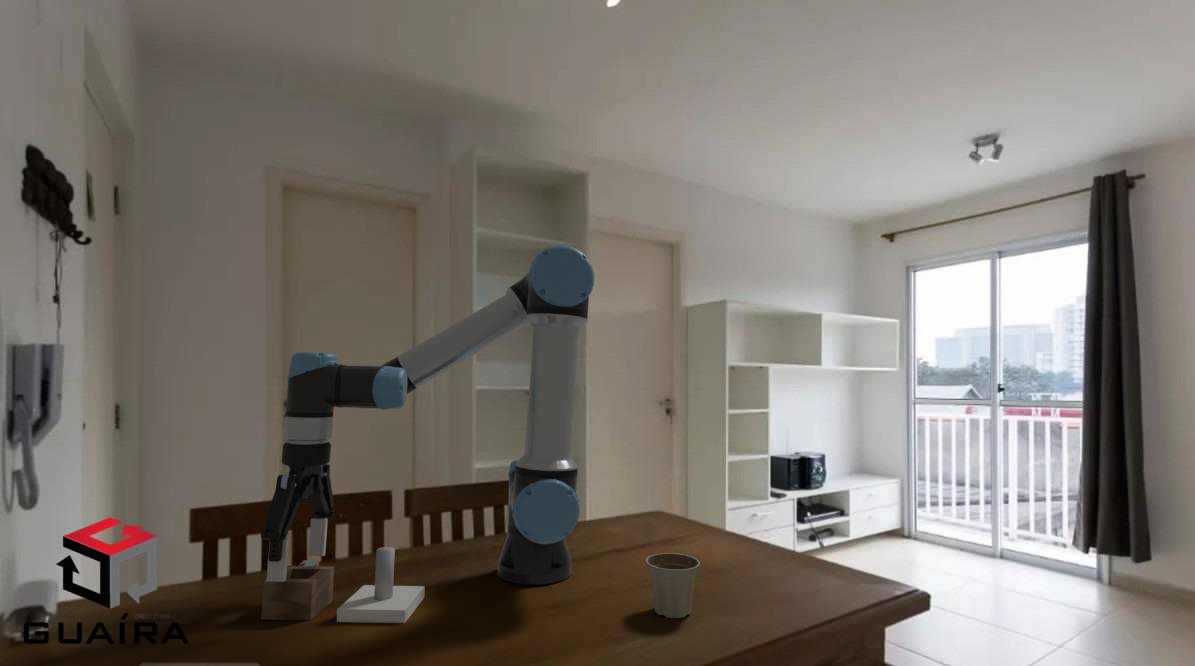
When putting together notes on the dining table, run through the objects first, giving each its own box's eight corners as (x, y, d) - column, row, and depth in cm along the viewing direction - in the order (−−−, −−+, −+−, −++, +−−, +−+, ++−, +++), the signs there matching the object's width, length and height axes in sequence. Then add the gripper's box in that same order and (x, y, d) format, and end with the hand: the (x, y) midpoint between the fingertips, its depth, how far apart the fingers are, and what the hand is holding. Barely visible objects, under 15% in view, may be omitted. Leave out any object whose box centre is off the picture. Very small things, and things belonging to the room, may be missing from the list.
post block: (424, 597, 106) (426, 541, 106) (404, 623, 95) (407, 559, 95) (363, 596, 106) (366, 539, 106) (336, 621, 95) (339, 558, 95)
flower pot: (665, 627, 95) (665, 572, 96) (634, 606, 103) (635, 556, 104) (711, 617, 99) (711, 565, 100) (678, 598, 108) (678, 550, 108)
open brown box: (332, 601, 103) (334, 566, 103) (310, 620, 95) (312, 582, 95) (286, 600, 103) (288, 565, 103) (261, 619, 95) (263, 581, 95)
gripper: (319, 433, 114) (311, 545, 112) (242, 448, 89) (230, 592, 87) (358, 435, 114) (350, 547, 112) (292, 450, 89) (280, 594, 87)
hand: (297, 567), depth 99 cm, fingers open, 13 cm apart
